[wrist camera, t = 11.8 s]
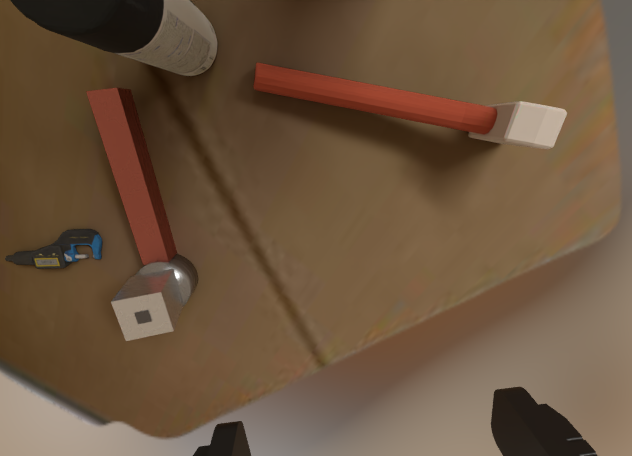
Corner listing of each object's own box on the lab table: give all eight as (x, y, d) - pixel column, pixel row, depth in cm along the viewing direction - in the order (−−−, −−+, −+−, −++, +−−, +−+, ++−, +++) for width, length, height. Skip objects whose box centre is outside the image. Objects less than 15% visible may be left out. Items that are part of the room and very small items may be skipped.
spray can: (217, 8, 33) (109, -132, 14) (221, 79, 36) (132, 39, 17) (152, 4, 33) (-47, -143, 14) (160, 77, 35) (-2, 32, 16)
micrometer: (93, 232, 39) (102, 268, 41) (102, 227, 41) (110, 262, 43) (-9, 234, 39) (4, 271, 40) (4, 228, 40) (16, 264, 42)
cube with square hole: (130, 276, 38) (110, 302, 33) (173, 268, 39) (160, 292, 34) (142, 311, 40) (125, 341, 35) (183, 303, 41) (173, 331, 35)
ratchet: (85, 95, 35) (40, 91, 29) (147, 87, 36) (116, 81, 29) (153, 301, 44) (130, 331, 38) (203, 295, 44) (187, 324, 38)
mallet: (240, 89, 30) (557, 151, 29) (244, 48, 29) (574, 110, 28) (268, 98, 40) (504, 144, 39) (271, 67, 39) (515, 114, 38)
